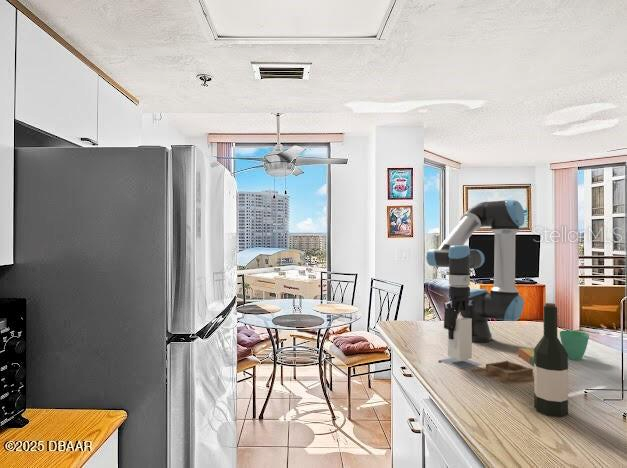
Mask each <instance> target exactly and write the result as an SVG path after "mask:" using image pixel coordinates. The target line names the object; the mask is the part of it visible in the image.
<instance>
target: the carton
mask: <svg viewBox="0 0 627 468" xmlns="http://www.w3.org/2000/svg"><path fill="white" fill-rule="evenodd" d="M518 358H521V359H522V360H523V361H525V362H526V363H528V364H529V365H530V366H532V367H533V368H534V348H518Z"/></svg>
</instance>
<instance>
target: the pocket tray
mask: <svg viewBox="0 0 627 468" xmlns="http://www.w3.org/2000/svg"><path fill="white" fill-rule="evenodd" d="M470 371H472V372H474V373H477V374H479V375H483V376H484V377H487V378H489V379H492V380H494V381H497V382H499V383H502V384H505V385H508V386H510V387H512V388H513V387H517V386H521V385H526V384H530V383H534V368H532V367H528V366H525V365H523V364H519V363H516V362H513V361H510V360H502V361H501V360H500V361H496V362H492V363H491V362H490V363H486V364H485V366H483V367H477V368H472V369H470Z"/></svg>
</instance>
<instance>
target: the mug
mask: <svg viewBox="0 0 627 468" xmlns="http://www.w3.org/2000/svg"><path fill="white" fill-rule="evenodd" d="M589 336H590V334H588V333H586V332H585V331H584V332H583V331H580V330H579V331H578V330H577V331H576V330H573V329H568V330H560V331H559V337H560V342H561V344H562V345H563V347H564V349H565V350H566V352H567V353H568V360H572V361H582V360H583V357H584V356H585V353H586V350H587V347H588V343H589V339H590V337H589Z"/></svg>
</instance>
